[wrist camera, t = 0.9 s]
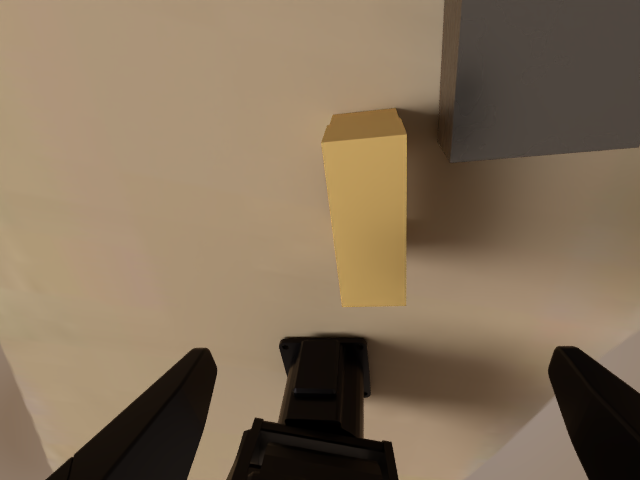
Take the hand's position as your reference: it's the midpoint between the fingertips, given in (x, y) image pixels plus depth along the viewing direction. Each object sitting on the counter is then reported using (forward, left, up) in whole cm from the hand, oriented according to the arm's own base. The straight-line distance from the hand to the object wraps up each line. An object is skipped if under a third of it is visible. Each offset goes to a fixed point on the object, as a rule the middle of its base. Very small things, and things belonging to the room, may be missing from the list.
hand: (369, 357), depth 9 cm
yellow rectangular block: (0, 0, -11) cm, 11 cm away
